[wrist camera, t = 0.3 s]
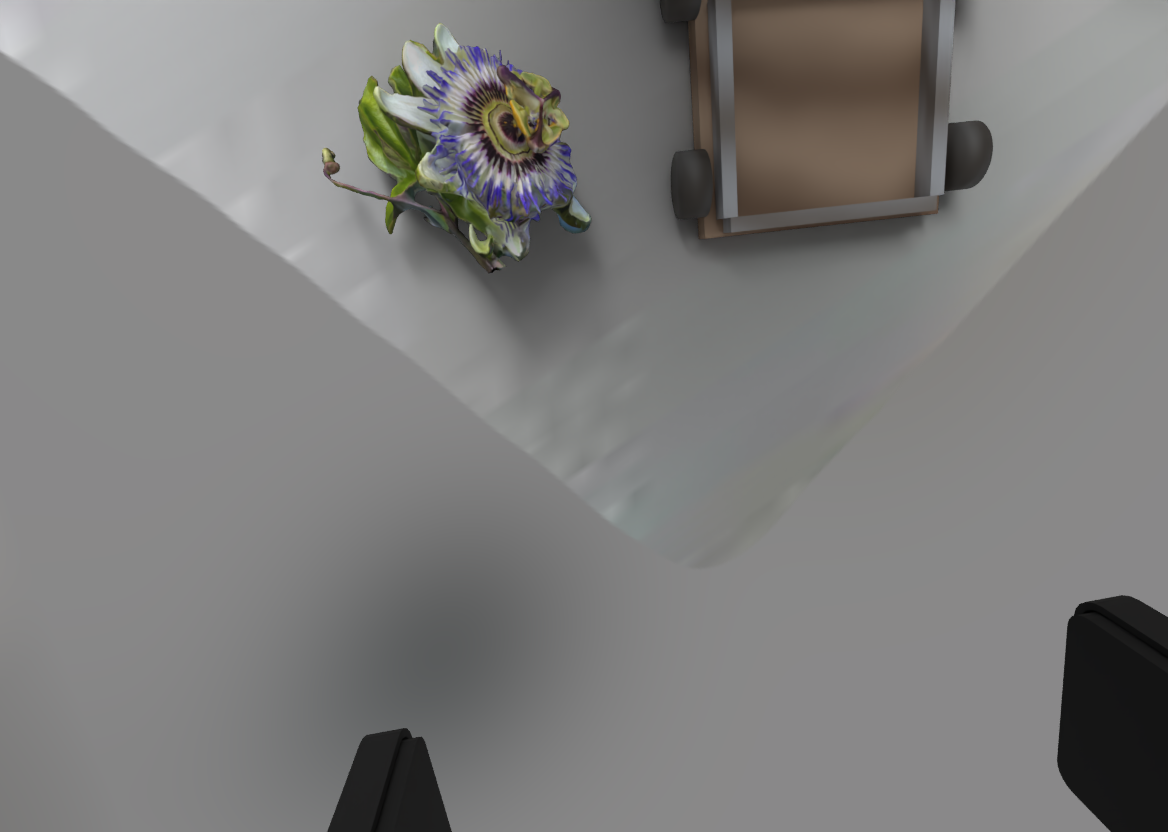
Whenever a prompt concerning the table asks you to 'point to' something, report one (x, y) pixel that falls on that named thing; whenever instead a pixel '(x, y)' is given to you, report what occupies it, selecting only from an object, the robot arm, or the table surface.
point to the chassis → (820, 114)
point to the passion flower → (469, 146)
